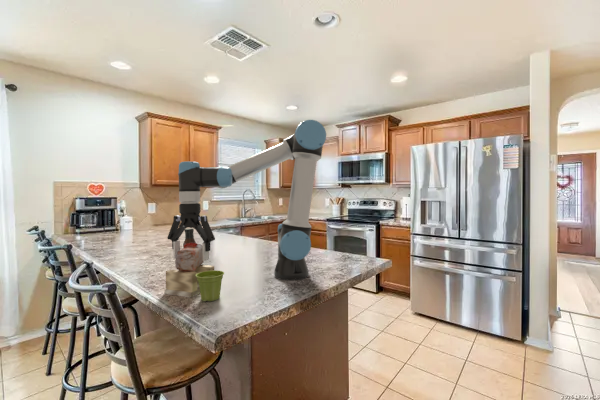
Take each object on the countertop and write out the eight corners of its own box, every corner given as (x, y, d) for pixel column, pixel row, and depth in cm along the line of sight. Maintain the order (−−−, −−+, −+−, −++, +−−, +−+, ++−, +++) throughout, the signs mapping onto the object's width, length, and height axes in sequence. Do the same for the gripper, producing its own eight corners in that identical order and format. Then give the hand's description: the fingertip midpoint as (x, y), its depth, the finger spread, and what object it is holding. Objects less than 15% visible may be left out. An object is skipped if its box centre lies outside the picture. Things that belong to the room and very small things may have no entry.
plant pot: (191, 298, 101) (190, 273, 100) (216, 292, 107) (215, 268, 107) (203, 305, 94) (203, 279, 94) (229, 298, 100) (229, 273, 100)
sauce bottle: (200, 268, 143) (199, 227, 143) (194, 271, 137) (193, 229, 136) (187, 268, 144) (186, 227, 143) (180, 271, 137) (180, 229, 137)
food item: (196, 272, 104) (196, 245, 104) (173, 273, 103) (173, 245, 103) (205, 263, 118) (205, 239, 118) (185, 264, 117) (184, 240, 117)
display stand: (215, 285, 115) (215, 265, 115) (190, 297, 102) (190, 274, 102) (191, 282, 119) (190, 263, 119) (164, 293, 106) (164, 271, 106)
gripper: (223, 202, 109) (224, 258, 109) (171, 202, 118) (172, 255, 118) (211, 203, 102) (212, 263, 102) (156, 203, 111) (157, 258, 111)
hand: (191, 259), depth 110 cm, fingers open, 13 cm apart
